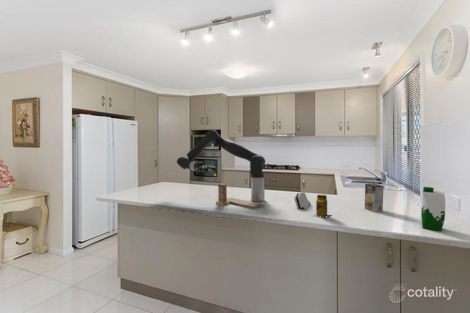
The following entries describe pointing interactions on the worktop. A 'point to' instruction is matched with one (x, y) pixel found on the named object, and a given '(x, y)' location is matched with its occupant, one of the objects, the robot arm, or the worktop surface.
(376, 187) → the coffee box
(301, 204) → the light grey flat case
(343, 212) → the worktop surface
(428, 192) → the milk carton
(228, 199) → the walnut board
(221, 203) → the upright board on stand
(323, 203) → the condiment
